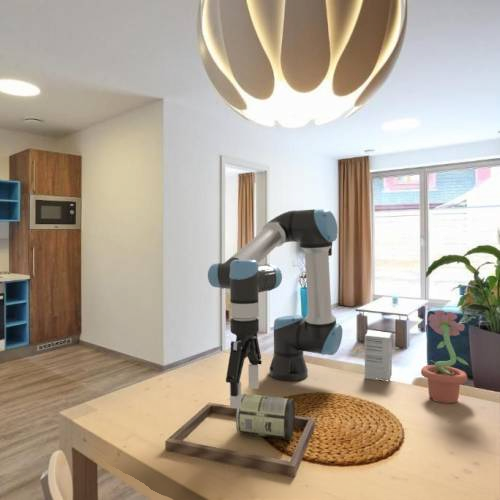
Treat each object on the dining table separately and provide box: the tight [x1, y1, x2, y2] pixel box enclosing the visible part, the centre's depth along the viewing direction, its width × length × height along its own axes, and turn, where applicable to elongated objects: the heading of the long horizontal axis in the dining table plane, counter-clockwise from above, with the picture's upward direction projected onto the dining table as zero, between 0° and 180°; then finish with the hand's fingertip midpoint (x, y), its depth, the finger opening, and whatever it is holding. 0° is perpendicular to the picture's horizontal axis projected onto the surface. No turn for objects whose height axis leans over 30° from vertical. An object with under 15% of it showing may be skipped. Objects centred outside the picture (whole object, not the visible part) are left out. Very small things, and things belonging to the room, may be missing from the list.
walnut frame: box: [164, 402, 316, 478], centre depth 103 cm, size 33×25×2 cm
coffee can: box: [235, 393, 296, 441], centre depth 105 cm, size 10×10×14 cm
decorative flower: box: [420, 309, 469, 404], centre depth 129 cm, size 15×14×30 cm
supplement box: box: [364, 330, 393, 383], centre depth 151 cm, size 10×9×17 cm
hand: (245, 397), depth 103 cm, fingers open, 13 cm apart
